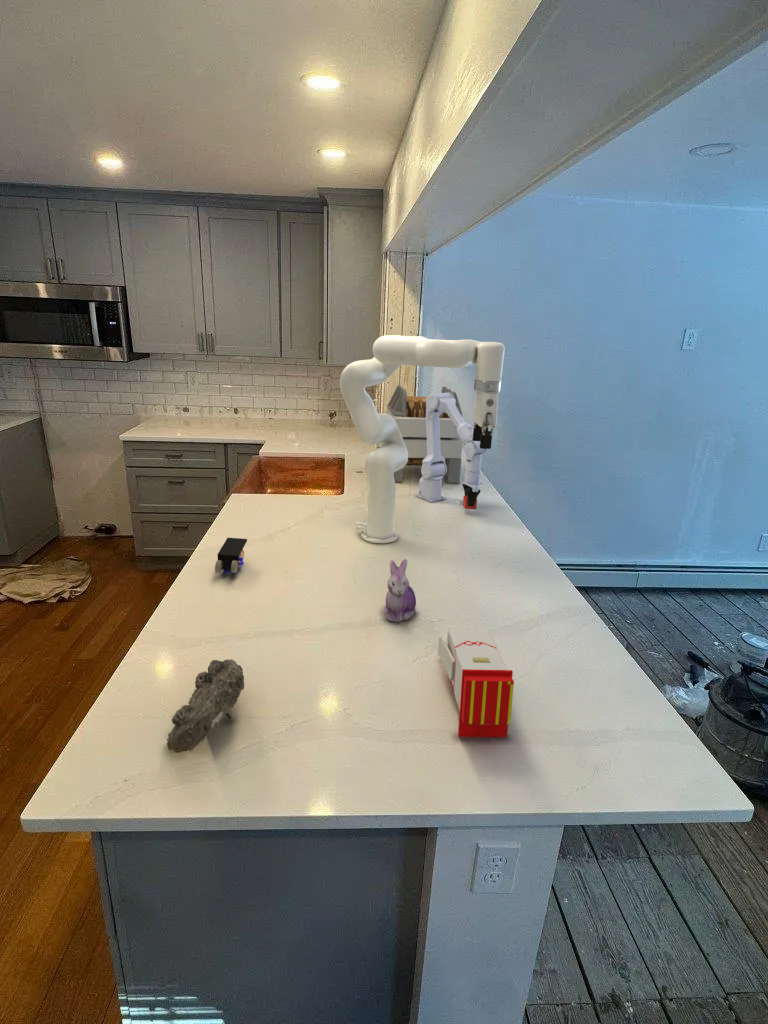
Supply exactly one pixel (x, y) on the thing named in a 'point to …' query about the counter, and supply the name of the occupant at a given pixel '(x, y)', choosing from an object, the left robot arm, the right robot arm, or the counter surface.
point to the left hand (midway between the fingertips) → (481, 444)
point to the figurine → (399, 594)
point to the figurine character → (230, 556)
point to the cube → (465, 503)
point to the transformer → (413, 431)
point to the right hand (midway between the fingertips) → (469, 504)
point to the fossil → (206, 705)
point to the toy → (478, 682)
